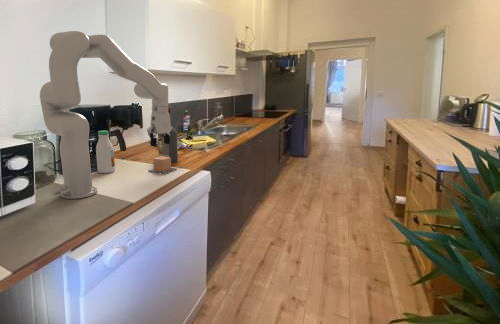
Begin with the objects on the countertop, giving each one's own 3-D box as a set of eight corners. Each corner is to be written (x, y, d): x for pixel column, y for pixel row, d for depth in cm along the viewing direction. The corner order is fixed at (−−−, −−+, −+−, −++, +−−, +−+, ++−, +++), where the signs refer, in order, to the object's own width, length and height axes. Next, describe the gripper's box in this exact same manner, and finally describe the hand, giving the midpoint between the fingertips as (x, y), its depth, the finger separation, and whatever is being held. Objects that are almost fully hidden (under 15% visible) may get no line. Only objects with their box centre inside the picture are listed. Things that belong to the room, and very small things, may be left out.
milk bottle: (108, 174, 146) (105, 132, 141) (94, 172, 148) (90, 131, 143) (118, 170, 154) (115, 130, 149) (104, 168, 155) (101, 129, 150)
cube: (163, 171, 151) (162, 159, 150) (153, 170, 154) (153, 158, 152) (171, 168, 157) (170, 157, 155) (161, 167, 159) (161, 156, 158)
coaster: (164, 174, 149) (164, 173, 149) (148, 171, 153) (147, 170, 153) (176, 169, 158) (176, 168, 158) (161, 167, 162) (161, 165, 162)
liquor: (170, 158, 181) (169, 106, 173) (180, 161, 175) (178, 108, 168) (156, 160, 174) (154, 107, 167) (166, 164, 168) (164, 108, 161)
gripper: (153, 110, 139) (154, 148, 142) (177, 110, 154) (177, 143, 158) (141, 109, 142) (141, 146, 145) (165, 109, 157) (165, 142, 161)
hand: (160, 144), depth 151 cm, fingers open, 9 cm apart
